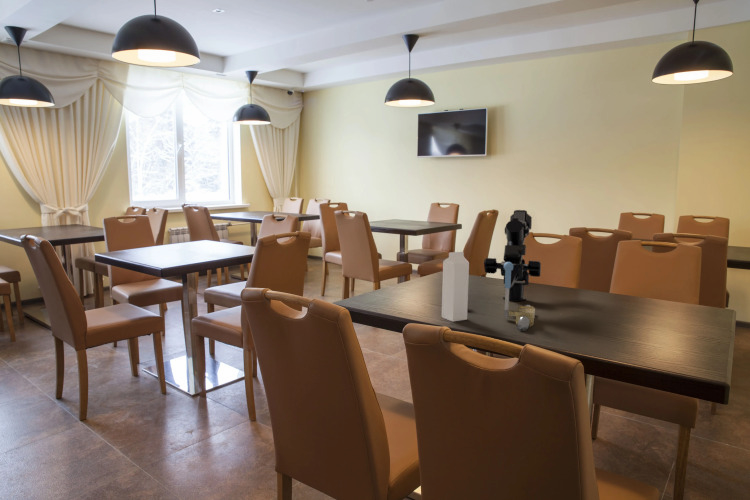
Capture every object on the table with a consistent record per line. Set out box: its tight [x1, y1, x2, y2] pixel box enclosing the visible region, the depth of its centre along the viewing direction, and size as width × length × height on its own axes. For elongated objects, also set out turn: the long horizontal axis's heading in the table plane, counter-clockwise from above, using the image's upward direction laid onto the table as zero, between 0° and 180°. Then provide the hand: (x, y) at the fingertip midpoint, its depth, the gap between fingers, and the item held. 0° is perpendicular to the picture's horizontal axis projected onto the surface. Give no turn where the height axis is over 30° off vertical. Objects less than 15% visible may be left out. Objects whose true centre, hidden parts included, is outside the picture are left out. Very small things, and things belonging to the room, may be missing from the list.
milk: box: [441, 251, 470, 322], centre depth 162 cm, size 6×6×22 cm
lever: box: [503, 262, 513, 318], centre depth 161 cm, size 3×3×18 cm
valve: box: [508, 304, 536, 332], centre depth 160 cm, size 22×8×4 cm, turn 159°
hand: (509, 287), depth 167 cm, fingers closed
